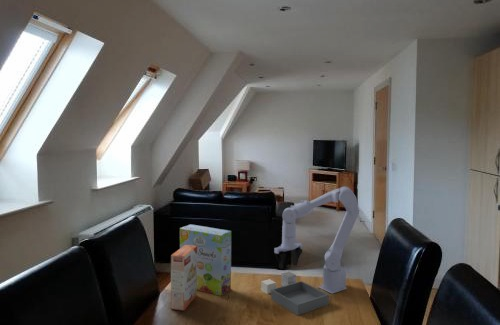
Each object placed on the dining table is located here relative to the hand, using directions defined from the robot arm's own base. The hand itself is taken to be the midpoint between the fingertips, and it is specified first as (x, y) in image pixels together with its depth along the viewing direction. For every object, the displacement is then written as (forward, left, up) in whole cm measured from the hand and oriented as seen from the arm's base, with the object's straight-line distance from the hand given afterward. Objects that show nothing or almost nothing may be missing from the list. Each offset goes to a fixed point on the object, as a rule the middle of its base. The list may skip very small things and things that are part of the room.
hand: (288, 266), depth 162 cm
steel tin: (-1, 0, -8) cm, 9 cm away
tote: (+6, +15, -8) cm, 18 cm away
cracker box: (+44, -9, -9) cm, 46 cm away
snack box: (+31, -17, -9) cm, 37 cm away
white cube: (+10, 0, -9) cm, 14 cm away
